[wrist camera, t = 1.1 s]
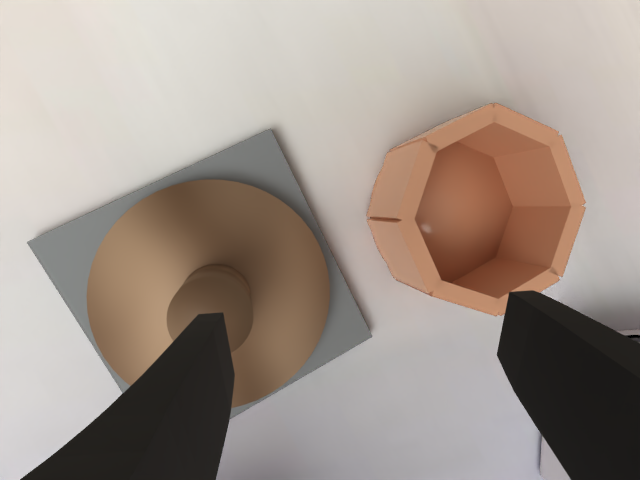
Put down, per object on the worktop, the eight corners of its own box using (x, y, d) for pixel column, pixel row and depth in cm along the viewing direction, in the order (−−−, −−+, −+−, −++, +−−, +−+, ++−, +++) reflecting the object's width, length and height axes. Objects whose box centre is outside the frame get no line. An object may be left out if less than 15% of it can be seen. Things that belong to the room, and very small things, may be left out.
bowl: (409, 317, 22) (452, 345, 18) (341, 173, 20) (370, 164, 16) (534, 244, 23) (604, 253, 19) (480, 103, 22) (541, 77, 17)
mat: (166, 449, 20) (163, 457, 19) (33, 240, 18) (26, 242, 17) (368, 333, 21) (372, 336, 21) (269, 130, 19) (270, 128, 19)
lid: (168, 444, 19) (148, 511, 15) (44, 247, 17) (-18, 259, 13) (360, 332, 21) (392, 364, 16) (265, 142, 19) (273, 123, 15)
